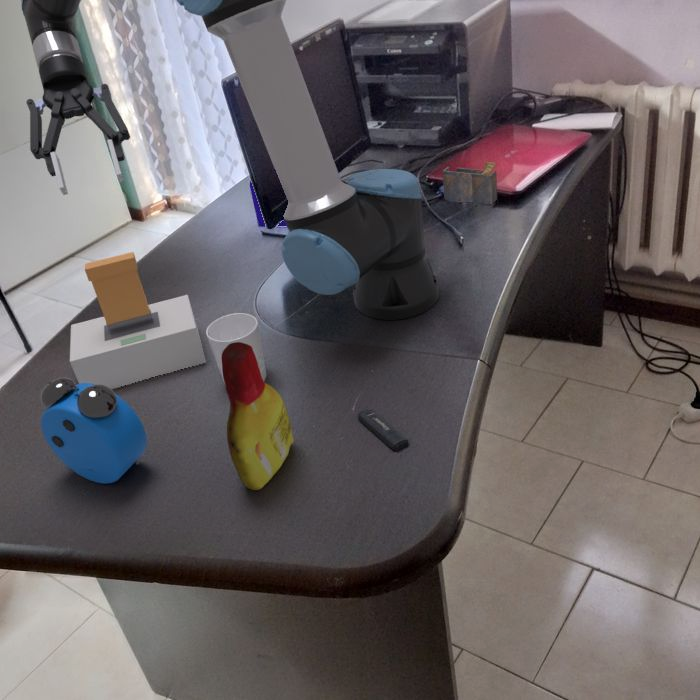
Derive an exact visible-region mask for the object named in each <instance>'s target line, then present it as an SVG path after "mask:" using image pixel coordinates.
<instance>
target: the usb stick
mask: <svg viewBox="0 0 700 700" xmlns="http://www.w3.org/2000/svg"><path fill="white" fill-rule="evenodd" d="M357 419H358V421H359V422H360V423H362V424H363V425H364V426H365V427H366V428H367V429H368V430H369V431H371V432H372V433H373V434H374V435H375V436H376V437H377V438H378V439H379V440H381V441H382V443H384V444H385V445H386V446H388V447H389V449H391V450H392V451H393V452H398V451H400V450H402V449H404V448H405V447H407V446H408V444H409V439H407V438H406V437H405V436H404V435H402V434H401V433H400V432H399V431H398V430H397V429H395V428H394V427H393V426H392V425H391V424H389V423H388V422H387V421H386V420H385V419H384V418H383V417H381V416H380V415H379V414H378V413H376V412H375V411H374V410H373V409H371V408H370V409H369V408H367V409H364V410H361V411H360V412H358V414H357Z"/></svg>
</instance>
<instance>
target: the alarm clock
mask: <svg viewBox="0 0 700 700" xmlns="http://www.w3.org/2000/svg"><path fill="white" fill-rule="evenodd" d="M40 402H41V404H42V406H43V407H44V408H46V409H45V410H44V411H43V413H42V415H41V419H40V427H41V431H42V435H43V436H44V439H45V441H46V443H47V445H48V446H49V448H50V449H51V450H52V452H53V453H54V454H55V455H56V457H57V458H59V460H60V461H61V462H63V464H64V465H66V466H67V467H68V468H69V469H71V470H72V471H73V472H75V473H76V474H77V475H79V476H81V477H82V478H85V479H86V480H88V481H91V482H95V483H98V484H112V483H115V482H117V481H118V480H120V479H121V477H122V476H123V475H124V474H126V472H127V471H128V470H129V469H131V467H132V466H133V464H135V466H137V465H138V464H139V465H140V463H139V461H138V460H139V458H140V457H142V455H143V454H144V453H145V451H146V449H147V444H148V438H147V433H146V430H145V426H144V424H143V422H142V421H141V419H140V418H139V416H138V415H137V413H136V412H135V410H134V409H133V408H132V407H131V406H130V404H129V403H127V402H126V401H125V400H124V399H123V398H121V397H120V396H119V395H117V394H116V393H115V391H114V389H110V388H109V387H107V386H104V385H96V384H92V383H80V384H79V383H77V382H75V381H74V380H73V379H71V378H69V377H57V378H54V379H53V380H50V379H48V380H47V384H46V385H45V386H44V387H43V388H42V390H41V393H40ZM139 465H138V466H139Z"/></svg>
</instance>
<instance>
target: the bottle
mask: <svg viewBox="0 0 700 700" xmlns="http://www.w3.org/2000/svg"><path fill="white" fill-rule="evenodd" d="M221 360H222V371H223V377H222V379H223V378H224V380H223V383H224V382H225V383H224V386H225V385H226V386H225V391H226V394H227V395H228V400H229V405H230V406H229V414H228V418H227V423H226V438H227V439H226V441H227V446H228V450H229V454H230V457H231V460H232V463H233V465H234V467H235V470H236V472H237V475H238V477H239V480H240V482H241V483H242V484H243V485H244V486H245V487H246V488H247V489H250V490H253V491H259V490H261V489H262V488H264V486H265V485H267V483H269V481H270V480H271V479H273V476H275V474H276V473H277V472H278V471H279V470H280V469H281V467H282V465H283V463H284V462H285V461H286V459H287V457H288V456H289V451H290V447H291V446H292V444H293V443H294V442H295V439H294V436H293V431H292V425H291V420H290V417H289V414H288V412H287V408H286V405H285V402H284V400H283V398H282V397H281V395H280V393H278V392H277V390H276V389H274V387H273V386H271V385H270V384H268V383H266V382H265V381H263V379H262V377H261V373H260V369H259V367H258V362H257V359H256V357H255V354H254V352H253V349H252V347H251V346H250V345H248V344H245V343H241V342H235V343H231V344H229V345H228V346H227V347H226V348H225V349H224V350H223V353H222V359H221Z"/></svg>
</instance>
